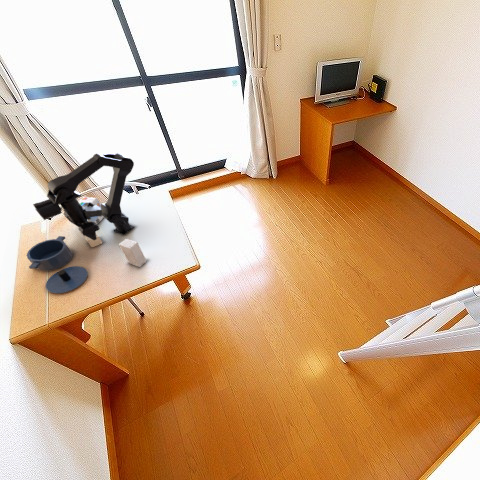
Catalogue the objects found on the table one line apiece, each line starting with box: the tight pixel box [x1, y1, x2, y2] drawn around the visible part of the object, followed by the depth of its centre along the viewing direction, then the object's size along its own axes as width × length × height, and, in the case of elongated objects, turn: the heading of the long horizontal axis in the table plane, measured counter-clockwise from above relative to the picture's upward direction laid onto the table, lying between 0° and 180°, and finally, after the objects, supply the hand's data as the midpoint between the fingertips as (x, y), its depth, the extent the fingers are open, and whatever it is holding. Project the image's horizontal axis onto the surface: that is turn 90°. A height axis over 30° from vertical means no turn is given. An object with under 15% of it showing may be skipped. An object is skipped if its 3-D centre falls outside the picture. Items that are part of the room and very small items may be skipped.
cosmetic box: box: [118, 238, 147, 268], centre depth 121 cm, size 6×4×12 cm
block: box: [83, 233, 103, 248], centre depth 129 cm, size 4×4×4 cm
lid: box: [45, 265, 89, 295], centre depth 113 cm, size 14×14×6 cm
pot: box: [26, 235, 74, 272], centre depth 119 cm, size 13×18×6 cm
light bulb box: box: [78, 196, 105, 225], centre depth 137 cm, size 11×7×11 cm, turn 179°
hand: (90, 234), depth 127 cm, fingers open, 9 cm apart
